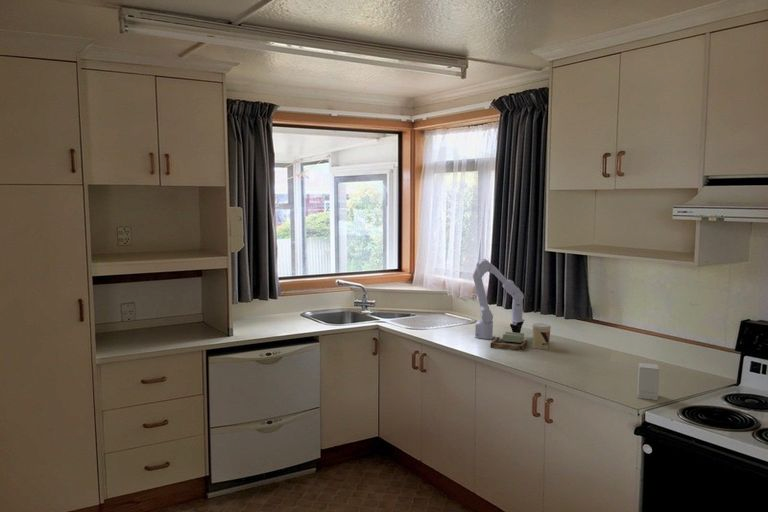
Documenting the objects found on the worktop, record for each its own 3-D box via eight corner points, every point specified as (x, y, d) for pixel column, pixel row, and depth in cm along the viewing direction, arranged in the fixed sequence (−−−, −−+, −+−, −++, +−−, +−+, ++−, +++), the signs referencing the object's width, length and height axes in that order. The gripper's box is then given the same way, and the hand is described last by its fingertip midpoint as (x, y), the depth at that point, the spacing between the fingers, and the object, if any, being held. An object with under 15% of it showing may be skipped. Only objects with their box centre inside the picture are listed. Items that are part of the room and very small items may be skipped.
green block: (502, 342, 331) (502, 334, 331) (505, 339, 338) (506, 331, 338) (521, 344, 327) (521, 336, 327) (523, 340, 334) (524, 333, 334)
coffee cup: (543, 350, 314) (543, 327, 312) (528, 347, 321) (528, 324, 320) (553, 347, 320) (554, 325, 318) (538, 344, 327) (539, 322, 326)
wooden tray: (490, 347, 319) (490, 342, 319) (497, 341, 333) (497, 336, 333) (521, 350, 313) (521, 346, 312) (527, 344, 327) (527, 339, 326)
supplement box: (658, 400, 237) (659, 369, 236) (637, 398, 240) (639, 367, 239) (657, 394, 244) (658, 364, 243) (637, 392, 247) (638, 362, 246)
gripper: (522, 314, 331) (521, 338, 332) (526, 309, 344) (526, 333, 346) (509, 313, 334) (508, 337, 335) (514, 308, 347) (513, 332, 348)
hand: (516, 335), depth 341 cm, fingers open, 7 cm apart
